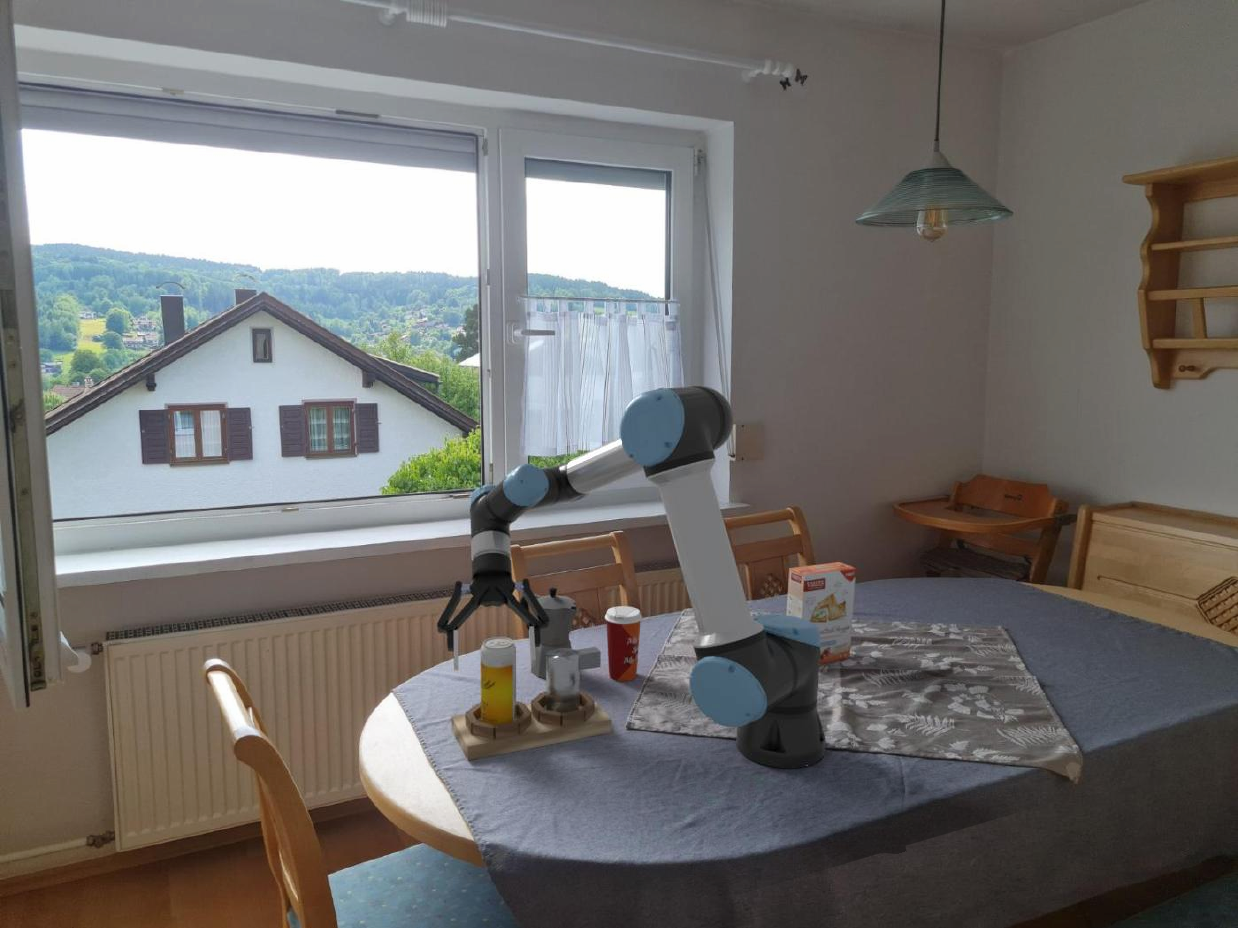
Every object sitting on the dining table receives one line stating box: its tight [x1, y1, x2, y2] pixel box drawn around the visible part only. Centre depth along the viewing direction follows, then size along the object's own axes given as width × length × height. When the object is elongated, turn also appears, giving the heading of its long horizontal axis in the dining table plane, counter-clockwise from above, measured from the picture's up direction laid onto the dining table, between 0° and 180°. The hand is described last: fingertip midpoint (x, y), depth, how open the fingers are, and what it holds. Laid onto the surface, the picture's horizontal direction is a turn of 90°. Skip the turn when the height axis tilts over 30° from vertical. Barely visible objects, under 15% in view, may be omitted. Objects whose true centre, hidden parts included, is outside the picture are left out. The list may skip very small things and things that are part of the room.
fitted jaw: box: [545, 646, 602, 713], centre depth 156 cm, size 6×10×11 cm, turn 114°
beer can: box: [480, 636, 517, 725], centre depth 150 cm, size 6×6×15 cm
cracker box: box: [785, 561, 857, 665], centre depth 187 cm, size 14×6×21 cm, turn 115°
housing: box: [450, 690, 612, 761], centre depth 154 cm, size 12×26×4 cm, turn 114°
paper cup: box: [604, 605, 643, 682], centre depth 177 cm, size 8×8×14 cm
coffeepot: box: [519, 587, 580, 679], centre depth 180 cm, size 15×9×18 cm, turn 55°
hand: (495, 665), depth 153 cm, fingers open, 13 cm apart
